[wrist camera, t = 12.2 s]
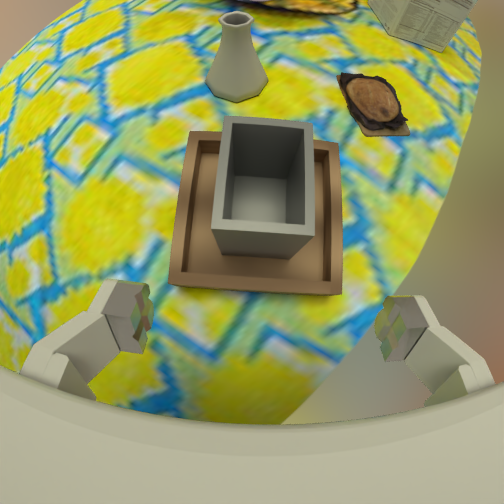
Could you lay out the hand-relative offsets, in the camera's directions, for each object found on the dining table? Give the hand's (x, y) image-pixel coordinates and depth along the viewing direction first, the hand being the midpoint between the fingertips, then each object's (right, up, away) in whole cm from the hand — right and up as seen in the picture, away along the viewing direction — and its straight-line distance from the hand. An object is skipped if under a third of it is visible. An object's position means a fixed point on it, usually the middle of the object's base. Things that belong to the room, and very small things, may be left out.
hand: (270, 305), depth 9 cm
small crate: (0, +5, +17) cm, 17 cm away
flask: (-2, +22, +21) cm, 31 cm away
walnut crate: (0, +5, +18) cm, 18 cm away
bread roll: (+15, +20, +22) cm, 33 cm away
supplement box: (+29, +46, +26) cm, 61 cm away
